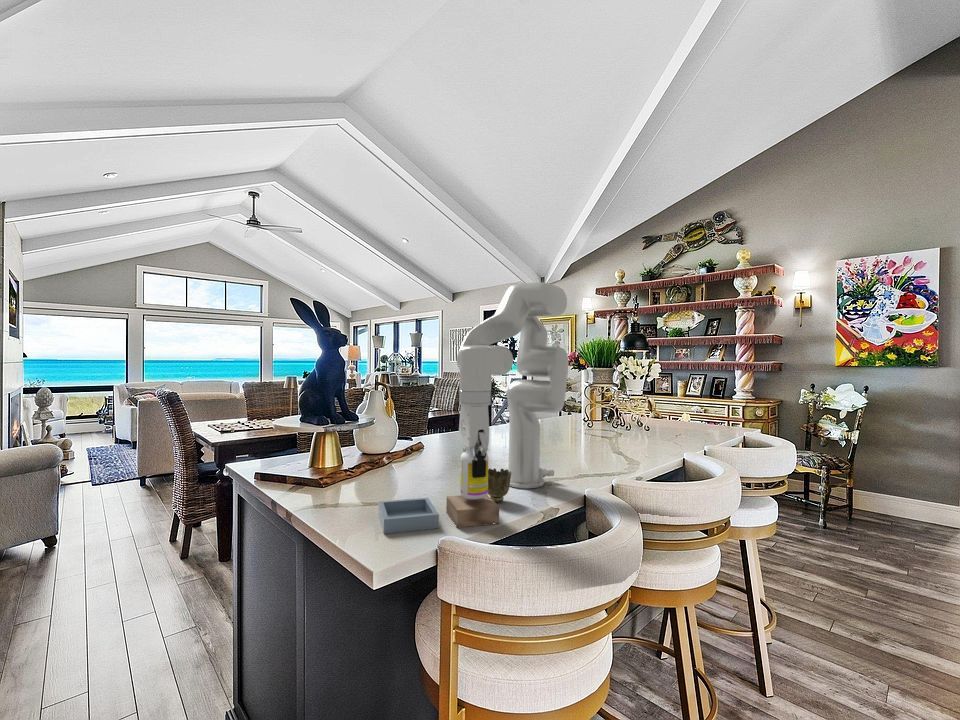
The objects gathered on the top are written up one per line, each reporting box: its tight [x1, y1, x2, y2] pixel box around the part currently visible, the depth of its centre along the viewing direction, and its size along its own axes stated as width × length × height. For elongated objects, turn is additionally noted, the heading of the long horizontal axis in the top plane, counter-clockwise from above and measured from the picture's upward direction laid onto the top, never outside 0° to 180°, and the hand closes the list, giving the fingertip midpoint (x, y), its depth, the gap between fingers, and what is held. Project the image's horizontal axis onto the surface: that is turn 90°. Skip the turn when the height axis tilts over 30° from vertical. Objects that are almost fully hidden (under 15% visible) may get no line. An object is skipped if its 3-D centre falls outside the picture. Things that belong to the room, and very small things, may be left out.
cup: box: [488, 467, 511, 504], centre depth 118 cm, size 8×7×8 cm
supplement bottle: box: [459, 445, 489, 500], centre depth 106 cm, size 7×7×13 cm
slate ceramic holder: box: [378, 497, 440, 535], centre depth 102 cm, size 12×12×3 cm
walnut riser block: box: [445, 494, 500, 528], centre depth 105 cm, size 10×10×4 cm
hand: (474, 472), depth 106 cm, fingers closed on supplement bottle, 6 cm apart
